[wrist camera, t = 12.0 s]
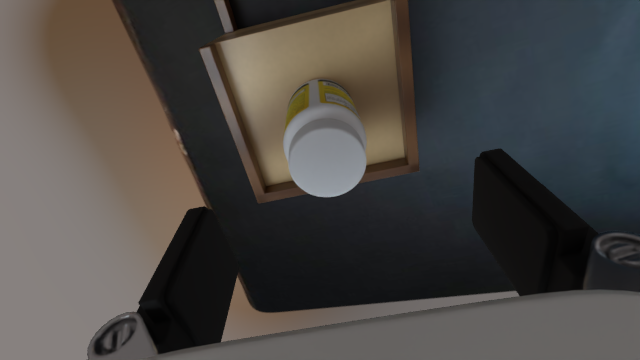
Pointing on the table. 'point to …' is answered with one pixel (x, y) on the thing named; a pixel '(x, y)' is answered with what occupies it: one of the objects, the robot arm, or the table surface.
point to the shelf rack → (309, 64)
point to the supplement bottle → (324, 139)
